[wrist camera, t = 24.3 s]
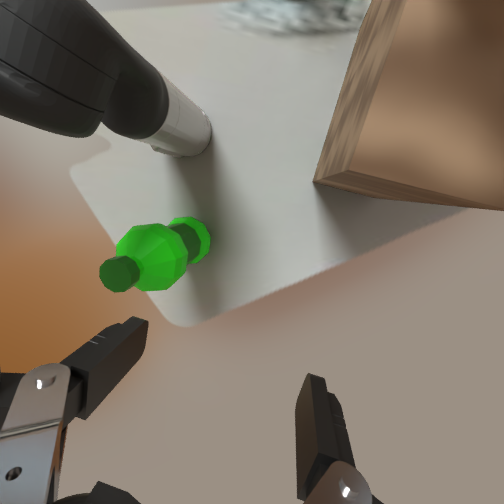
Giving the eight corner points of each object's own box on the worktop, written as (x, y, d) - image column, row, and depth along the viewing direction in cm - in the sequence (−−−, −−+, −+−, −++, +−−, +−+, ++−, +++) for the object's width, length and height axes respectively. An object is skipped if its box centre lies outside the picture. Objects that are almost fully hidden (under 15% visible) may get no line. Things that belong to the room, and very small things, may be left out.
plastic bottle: (185, 266, 55) (105, 326, 31) (163, 224, 53) (61, 252, 30) (224, 250, 53) (170, 300, 29) (202, 205, 51) (125, 218, 27)
